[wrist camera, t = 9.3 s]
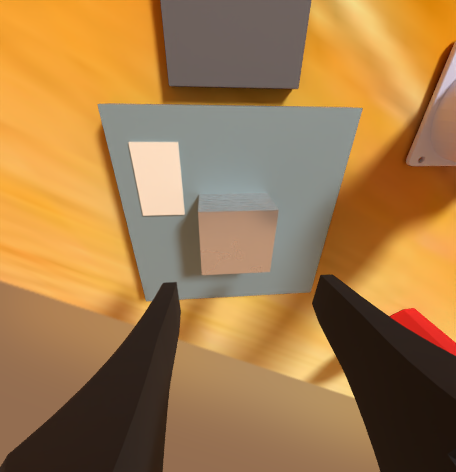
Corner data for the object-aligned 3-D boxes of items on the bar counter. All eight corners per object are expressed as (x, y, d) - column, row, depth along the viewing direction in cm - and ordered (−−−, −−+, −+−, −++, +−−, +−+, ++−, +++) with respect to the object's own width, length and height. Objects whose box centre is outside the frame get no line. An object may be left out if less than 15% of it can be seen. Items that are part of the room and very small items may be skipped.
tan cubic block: (261, 184, 18) (278, 210, 14) (256, 236, 21) (269, 272, 17) (199, 185, 18) (197, 212, 14) (202, 238, 20) (201, 275, 16)
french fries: (418, 300, 28) (541, 417, 18) (427, 314, 30) (545, 428, 19) (356, 334, 30) (433, 452, 20) (368, 345, 32) (445, 459, 22)
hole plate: (345, 107, 16) (364, 108, 14) (303, 278, 24) (311, 293, 22) (110, 103, 15) (96, 104, 13) (150, 286, 23) (145, 303, 21)
